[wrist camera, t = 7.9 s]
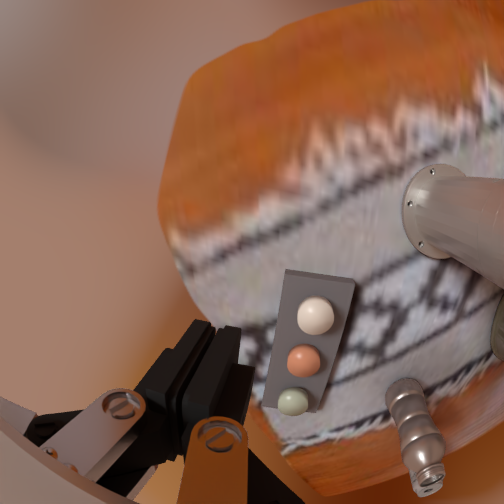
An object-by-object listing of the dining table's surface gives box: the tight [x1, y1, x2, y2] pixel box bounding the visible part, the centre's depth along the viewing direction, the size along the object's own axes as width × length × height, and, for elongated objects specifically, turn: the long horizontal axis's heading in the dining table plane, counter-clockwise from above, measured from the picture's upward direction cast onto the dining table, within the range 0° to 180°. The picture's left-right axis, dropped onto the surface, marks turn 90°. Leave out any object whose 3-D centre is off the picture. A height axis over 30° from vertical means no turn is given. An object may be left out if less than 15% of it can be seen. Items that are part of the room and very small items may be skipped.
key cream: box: [297, 296, 334, 335], centre depth 34 cm, size 4×4×2 cm
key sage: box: [278, 387, 308, 416], centre depth 38 cm, size 4×4×2 cm
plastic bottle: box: [385, 378, 446, 488], centre depth 29 cm, size 6×7×20 cm
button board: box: [261, 269, 355, 413], centre depth 38 cm, size 9×23×2 cm, turn 173°
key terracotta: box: [287, 344, 320, 377], centre depth 36 cm, size 4×4×2 cm
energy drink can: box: [408, 468, 443, 497], centre depth 34 cm, size 6×6×15 cm
